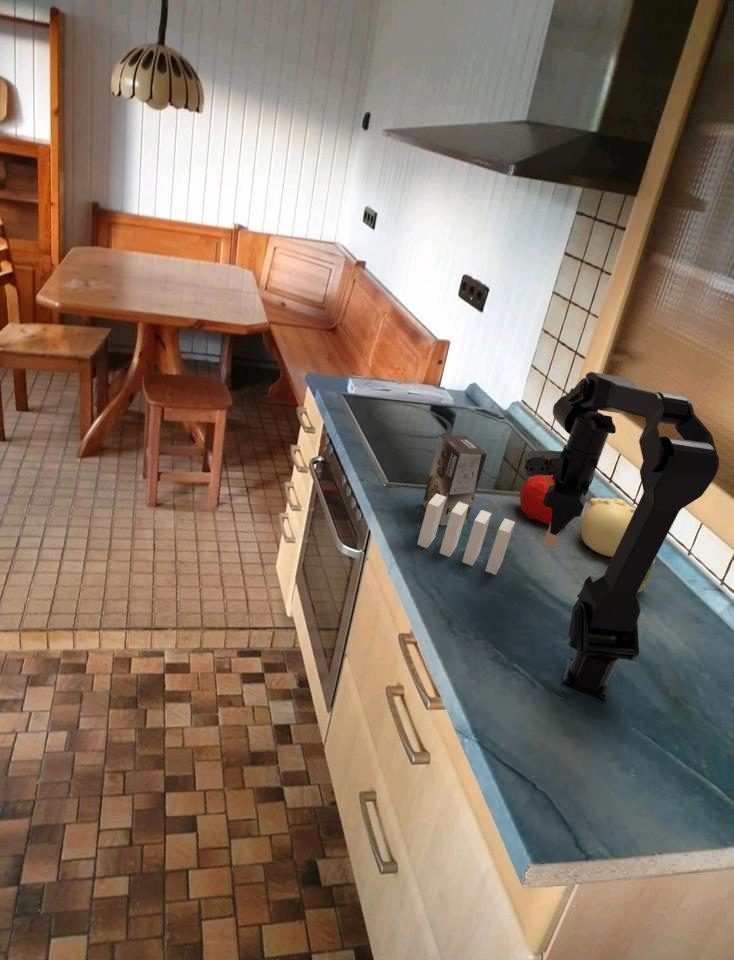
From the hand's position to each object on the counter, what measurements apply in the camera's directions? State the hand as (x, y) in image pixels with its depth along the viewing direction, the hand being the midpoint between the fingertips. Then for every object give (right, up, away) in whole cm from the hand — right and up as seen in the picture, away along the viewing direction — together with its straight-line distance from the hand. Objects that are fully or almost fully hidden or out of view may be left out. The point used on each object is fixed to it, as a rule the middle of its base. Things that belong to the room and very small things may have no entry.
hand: (555, 527), depth 122 cm
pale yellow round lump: (+16, -6, +23) cm, 29 cm away
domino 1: (-22, -3, +11) cm, 25 cm away
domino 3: (-14, -6, +9) cm, 17 cm away
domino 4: (-10, -8, +7) cm, 14 cm away
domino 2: (-18, -5, +10) cm, 21 cm away
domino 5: (-1, -2, +1) cm, 2 cm away
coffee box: (-17, +1, +23) cm, 28 cm away
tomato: (+5, 0, +30) cm, 31 cm away
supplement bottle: (+17, -12, +11) cm, 23 cm away
